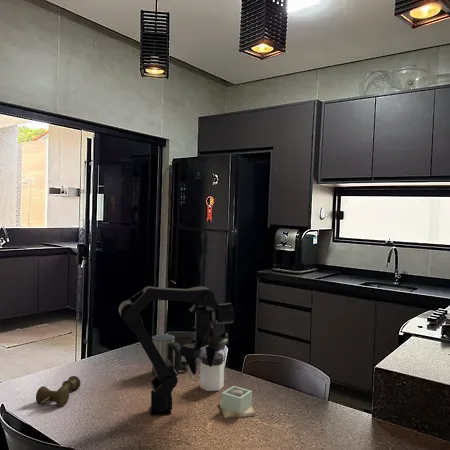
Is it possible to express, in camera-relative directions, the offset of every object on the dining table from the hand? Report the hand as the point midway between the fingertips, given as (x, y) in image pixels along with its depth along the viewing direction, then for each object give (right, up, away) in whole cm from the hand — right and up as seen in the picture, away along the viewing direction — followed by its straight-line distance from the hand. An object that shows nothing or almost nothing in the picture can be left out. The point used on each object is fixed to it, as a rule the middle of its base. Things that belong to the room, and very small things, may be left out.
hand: (202, 370), depth 146 cm
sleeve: (+11, -11, -3) cm, 16 cm away
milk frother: (-14, -11, +32) cm, 37 cm away
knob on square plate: (+11, -12, -2) cm, 17 cm away
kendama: (-50, -11, +3) cm, 51 cm away
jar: (+3, -12, +16) cm, 20 cm away
